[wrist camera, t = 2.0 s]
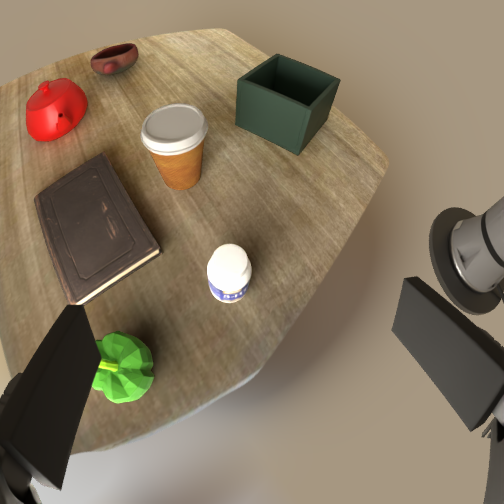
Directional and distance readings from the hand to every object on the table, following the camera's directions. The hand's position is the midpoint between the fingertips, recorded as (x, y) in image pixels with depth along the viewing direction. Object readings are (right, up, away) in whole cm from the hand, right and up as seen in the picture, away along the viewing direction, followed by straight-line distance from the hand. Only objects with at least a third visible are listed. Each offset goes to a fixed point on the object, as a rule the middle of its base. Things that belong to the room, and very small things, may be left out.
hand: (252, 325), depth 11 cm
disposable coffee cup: (-12, +15, +36) cm, 41 cm away
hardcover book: (-26, +7, +31) cm, 41 cm away
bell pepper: (-16, -13, +24) cm, 31 cm away
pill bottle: (-3, -2, +29) cm, 30 cm away
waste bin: (+6, +28, +43) cm, 52 cm away
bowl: (-34, +49, +49) cm, 77 cm away
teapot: (-43, +31, +41) cm, 67 cm away
